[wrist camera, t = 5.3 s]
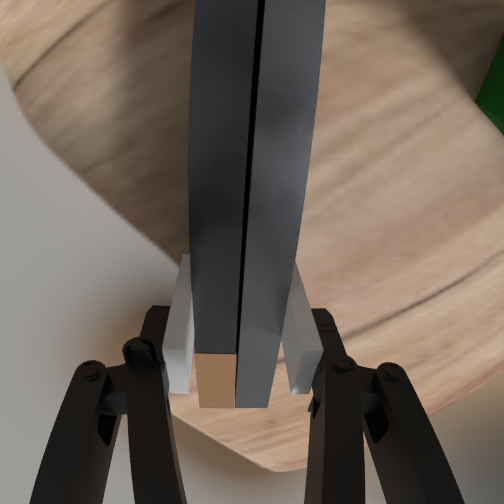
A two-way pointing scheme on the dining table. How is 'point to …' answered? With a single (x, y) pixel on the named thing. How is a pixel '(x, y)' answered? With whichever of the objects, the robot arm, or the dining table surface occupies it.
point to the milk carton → (494, 90)
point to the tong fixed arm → (275, 183)
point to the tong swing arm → (218, 185)
